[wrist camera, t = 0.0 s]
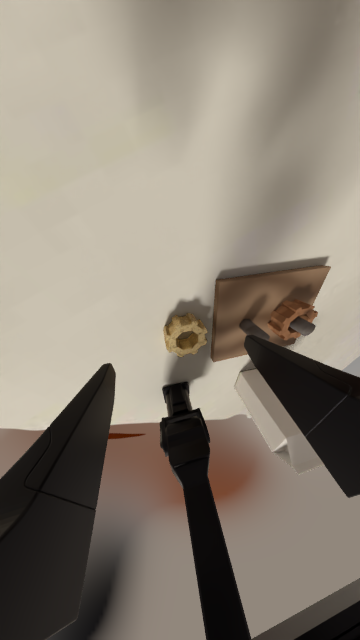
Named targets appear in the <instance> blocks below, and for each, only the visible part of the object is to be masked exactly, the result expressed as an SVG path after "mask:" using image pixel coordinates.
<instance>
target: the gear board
mask: <svg viewBox="0 0 360 640" xmlns="http://www.w3.org/2000/svg"><path fill="white" fill-rule="evenodd" d="M330 268H331V267H329V266H323V265H320V266H313V267H306V268H298V269H291V270H284V271H277V272H269V273H262V274H255V275H248V276H240V277H233V278H226V279H218V280H216V285H215V300H214V314H213V329H212V344H211V359H212V361H213V362H216V361H221V360H225V359H229V358H234V357H238V356H242V355H247V354H248V353H247V351H246V349H245V348H244V341H245V337H246V335H250V334H253V335H255V336H257V337H260V338H262V339H265V340H267V341H270V342H272V343H274V344H277V345H279V346H286V345H291V344H294V342H295V340H296V338H297V337H299V336H300V334H302V335H303V336H306V335H309V334H310V333H312V332H313V330H314V329H315V325H314V324H312V321H313V319H314V318H315V317H317V314H318V312H317V311H314V310H313V308H314V307H315V306H312V305H313V303H314V301H315V299H316V297H317V295H318V293H319V291H320V289H321V286H322V284H323V282H324V280H325V278H326V276H327V274H328V272H329V270H330Z"/></svg>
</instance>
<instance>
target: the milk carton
mask: <svg viewBox="0 0 360 640" xmlns="http://www.w3.org/2000/svg"><path fill="white" fill-rule="evenodd" d="M234 388H235V390H236V392H237V393H238V395H239V397H240V398H241V400H242V402H243V403H244V405H245V407H246V409H247V410H248V412H249V414H250V415H251V417H252V419H253V420H254V422H255V424H256V425H257V427H258V429H259V430H260V432H261V434H262V436H263V437H264V439H265V441H266V442H267V444H268V446H269V447H270V449H271V451H272V452H273V453H274V454H275V455H277V456H278V457H279V458H281V459H282V460H283V461H285V462H286V463H287V464H289V465H290V466H292V468H293V469H294V471H295V472H296V474H297V475H299V474H302V473H304V472H307V471H310V470H312V469H315V468H317V467H320V466H323V465H324V464H323V462H322V461H321V459H320V458H319V456H318V455H317V454H316V452H315V451H314V449H313V448H312V447H311V445H310V444H309V442H308V441H307V439H306V438H305V436H304V435H303V434H302V432H301V431H300V429H299V428H298V427H297V425H296V424H295V422H294V421H293V419H292V418H291V417H290V415H289V414H288V412H287V411H286V409H285V408H284V407H283V405H282V404H281V402H280V401H279V400H278V398H277V397H276V395H275V394H274V392H273V391H272V390H271V388H270V387H269V385H268V384H267V383H266V381H265V380H264V378H263V377H262V375H261V374H260V373H259V371H258V370H257V369H254V370H248V371H243V372H240V374H239V377H238V379H237V382H236V385H235V387H234Z"/></svg>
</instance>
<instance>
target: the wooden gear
mask: <svg viewBox="0 0 360 640" xmlns="http://www.w3.org/2000/svg"><path fill="white" fill-rule="evenodd" d="M163 331H164V336H165V343H166V348H167V350H168V351H169V352H172V351H173V352H175V353H177V356H178V357H183V356H184V355H185V354H190V353H192V354H193V355H194V354H195V353H197V352H198V351H197V350H198V349H199V348H200V347H201V346H202V345H205V344H206V342H207V339H206V338H205V334H206V333H208V332H207V330H206V328H205V326H204V325H203V323H202V322H201V320H200V319H199V320H196V319H195V317H194V315H193V314H190V313H187V315H186V316H182V317H178V316H177V315H176V316H174V317H172V322H171V323H170V324H169V325H168V326H166V325H165V327H164V330H163ZM186 331H193V333H192V334H191V335H190V336H189V337H188V338H186V339H178V338H177V337H178V336H179V335H180V334H181V333H182V332H186Z"/></svg>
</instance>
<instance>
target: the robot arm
mask: <svg viewBox="0 0 360 640" xmlns="http://www.w3.org/2000/svg"><path fill="white" fill-rule="evenodd" d="M244 348H245V349H246V351H247V353H248V355H249V357H250V358H251V360H252V362H253V364H254V365H255V367H256V368H257V370H258V371H259V373H260V374H261V375H262V377H263V378H264V380H265V381H266V383H267V384H268V385H269V387H270V388H271V390H272V391H273V392H274V394H275V395H276V397H277V398H278V400H279V401H280V402H281V404H282V405H283V407H284V408H285V409H286V411H287V412H288V414H289V415H290V417H291V418H292V419H293V421H294V422H295V424H296V425H297V427H298V428H299V429H300V431H301V432H302V434H303V435H304V436H305V438H306V439H307V441H308V442H309V444H310V445H311V447H312V448H313V449H314V451H315V452H316V454H317V455H318V456H319V458H320V459H321V461H322V462H323V464H324V465H325V466H326V468H327V469H328V471H329V472H330V473H331V475H332V476H333V478H334V479H335V481H336V482H337V483H338V485H339V486H340V488H341V489H342V490H343V492H344V493H345V494H346V496H347V497H348V498H350V497H353V496H357V495H360V377H357V376H354V375H351V374H349V373H346V372H343V371H341V370H338V369H335V368H333V367H330V366H328V365H325V364H323V363H320V362H318V361H316V360H313V359H311V358H308V357H306V356H303V355H301V354H299V353H296V352H294V351H291V350H289V349H286V348H284V347H282V346H279V345H277V344H274V343H272V342H270V341H267V340H265V339H262V338H260V337H257V336H255V335H253V334H250V335H246V337H245V341H244ZM115 378H116V374H115V370H114V368H113V366H112V364H111V363H107V364H103V365H102V366H101V367H100V369H99V370H98V371H97V372H96V373H95V374H94V375H93V377H92V378H91V379H90V380H89V381H88V382H87V383H86V385H85V386H84V387H83V388H82V389H81V390H80V391H79V393H78V394H77V395H76V396H75V397H74V398H73V399H72V401H71V402H70V403H69V404H68V405H67V406H66V407H65V409H64V410H63V411H62V412H61V413H60V414H59V415H58V417H57V418H56V419H55V420H54V421H53V422H52V423H51V425H50V427H48V428H47V429H46V430H45V431H44V433H43V434H42V435H41V436H40V437H39V438H38V439H37V441H36V442H35V443H34V444H33V445H32V446H31V447H30V448H29V449H28V450H27V452H26V453H25V454H24V455H23V456H22V457H21V458H20V459H19V460H18V461H17V462H16V463H15V464H14V465H13V466H12V467H11V469H9V470H8V472H7V473H6V474H5V475H4V476H3V477H2V478H1V479H0V640H46V639H47V638H49V637H50V636H52V635H54V634H55V633H57V632H58V631H60V630H61V629H63V628H64V627H66V626H68V625H69V624H71V623H72V622H74V621H75V620H77V617H78V612H79V607H80V601H81V595H82V590H83V584H84V577H85V572H86V565H87V560H88V554H89V548H90V542H91V536H92V530H93V524H94V518H95V512H96V510H95V509H96V506H97V500H98V494H99V488H100V481H101V475H102V470H103V464H104V458H105V452H106V446H107V440H108V435H109V429H110V423H111V417H112V411H113V405H114V396H115ZM162 390H163V395H164V399H165V403H166V404H167V411H168V417H166V418H162V421H161V422H160V434H161V435H160V446H161V448H162V449H163V450H164V452H165V456H166V457H167V456H169V462H170V465H171V468H172V472H173V474H174V475H175V477H176V478H177V480H178V482H179V483H180V485H181V486H182V488H183V491H184V497H185V504H186V510H187V517H188V523H189V530H190V536H191V543H192V549H193V556H194V562H195V569H196V575H197V581H198V588H199V595H200V601H201V608H202V613H203V621H204V627H205V633H206V640H360V578H359V579H357V580H356V581H354V582H352V583H350V584H349V585H347V586H345V587H343V588H342V589H340V590H338V591H336V592H334V593H333V594H331V595H329V596H327V597H326V598H324V599H322V600H320V601H319V602H317V603H315V604H313V605H311V606H310V607H308V608H306V609H304V610H302V611H301V612H299V613H297V614H295V615H293V616H292V617H290V618H288V619H286V620H285V621H283V622H281V623H279V624H277V625H276V626H274V627H272V628H271V629H269V630H267V631H265V632H263V633H261V634H260V635H258V636H257V637H254V638H253V639H251V636H250V633H249V629H248V625H247V622H246V618H245V614H244V610H243V607H242V603H241V599H240V595H239V592H238V588H237V584H236V581H235V577H234V573H233V569H232V565H231V562H230V558H229V555H228V550H227V547H226V543H225V539H224V536H223V532H222V528H221V524H220V520H219V517H218V513H217V509H216V506H215V502H214V498H213V494H212V491H211V487H210V483H209V479H208V468H209V458H210V447H209V444H208V443H210V437H209V433H208V430H207V426H206V424H205V421H204V418H203V416H202V413H201V411H200V408H197V409H195V410H192V406H191V402H190V399H189V386H188V382H184V383H180V384H176V385H172V386H168V387H164V388H163V389H162Z"/></svg>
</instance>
